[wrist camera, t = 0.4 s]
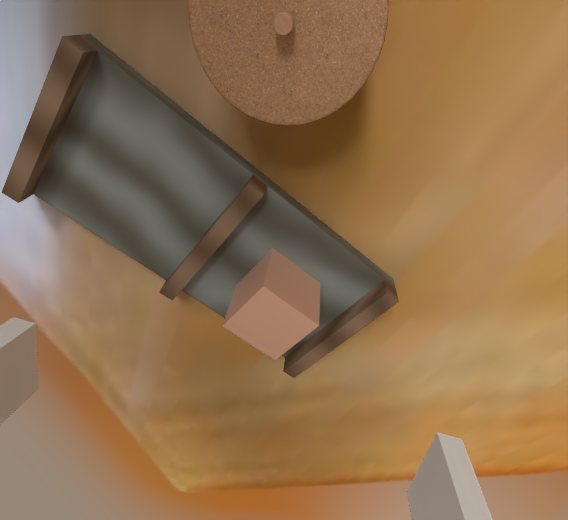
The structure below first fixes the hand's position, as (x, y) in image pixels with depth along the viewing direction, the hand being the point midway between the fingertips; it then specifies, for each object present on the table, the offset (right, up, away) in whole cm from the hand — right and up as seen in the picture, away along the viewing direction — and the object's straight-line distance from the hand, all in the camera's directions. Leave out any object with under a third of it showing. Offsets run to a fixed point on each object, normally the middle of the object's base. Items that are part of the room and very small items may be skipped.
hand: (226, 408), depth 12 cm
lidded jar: (+3, +22, +15) cm, 26 cm away
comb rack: (-5, +8, +24) cm, 26 cm away
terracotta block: (+1, +2, +25) cm, 25 cm away
